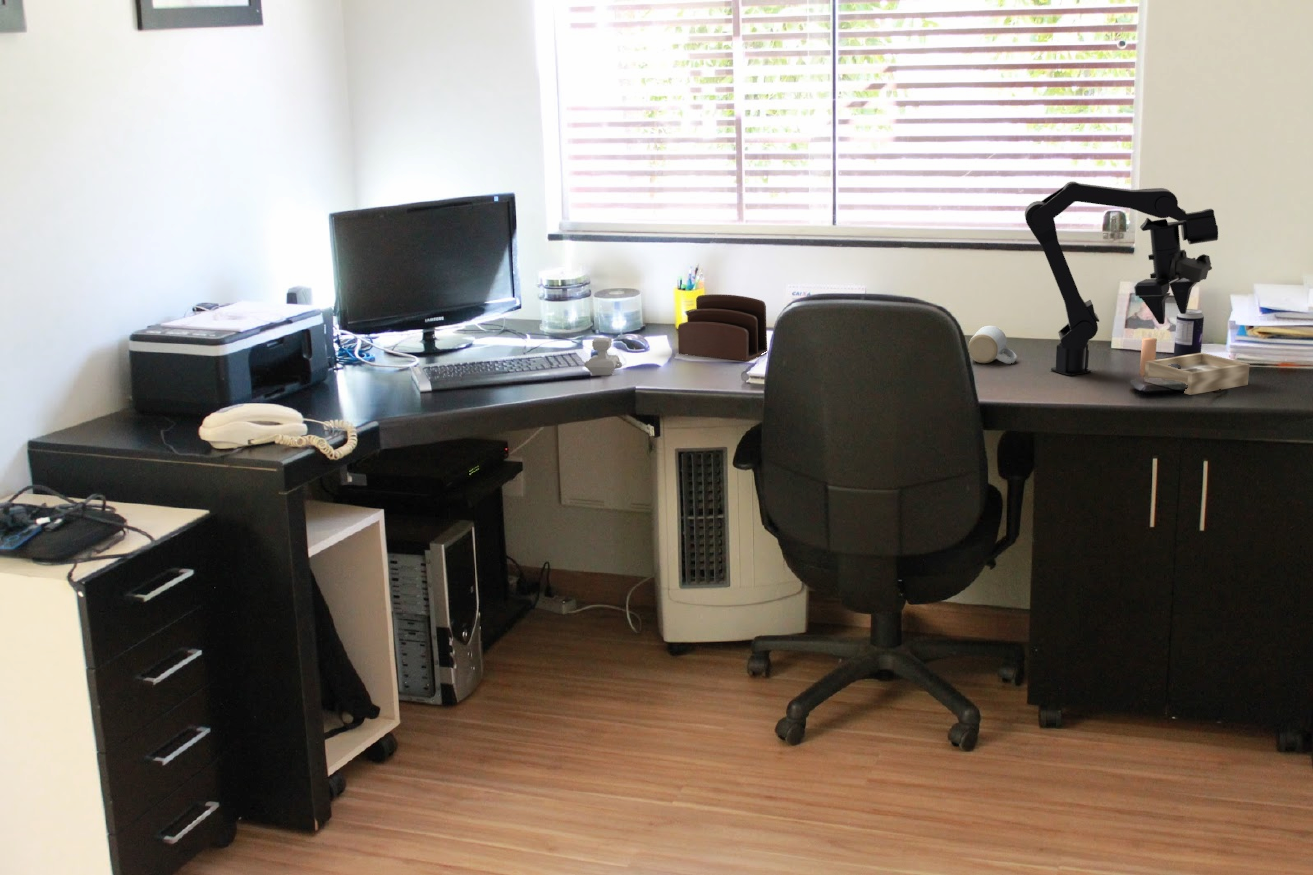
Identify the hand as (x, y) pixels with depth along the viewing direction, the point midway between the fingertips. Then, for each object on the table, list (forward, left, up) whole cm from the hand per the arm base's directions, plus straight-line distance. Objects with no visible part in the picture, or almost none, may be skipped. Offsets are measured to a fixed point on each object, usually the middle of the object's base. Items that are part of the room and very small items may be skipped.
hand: (1172, 318), depth 286 cm
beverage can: (+11, +5, -13) cm, 17 cm away
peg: (-4, +2, -12) cm, 13 cm away
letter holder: (-74, +70, -13) cm, 103 cm away
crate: (-1, -9, -12) cm, 15 cm away
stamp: (-107, +66, -13) cm, 127 cm away
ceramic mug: (-24, +30, -13) cm, 41 cm away
